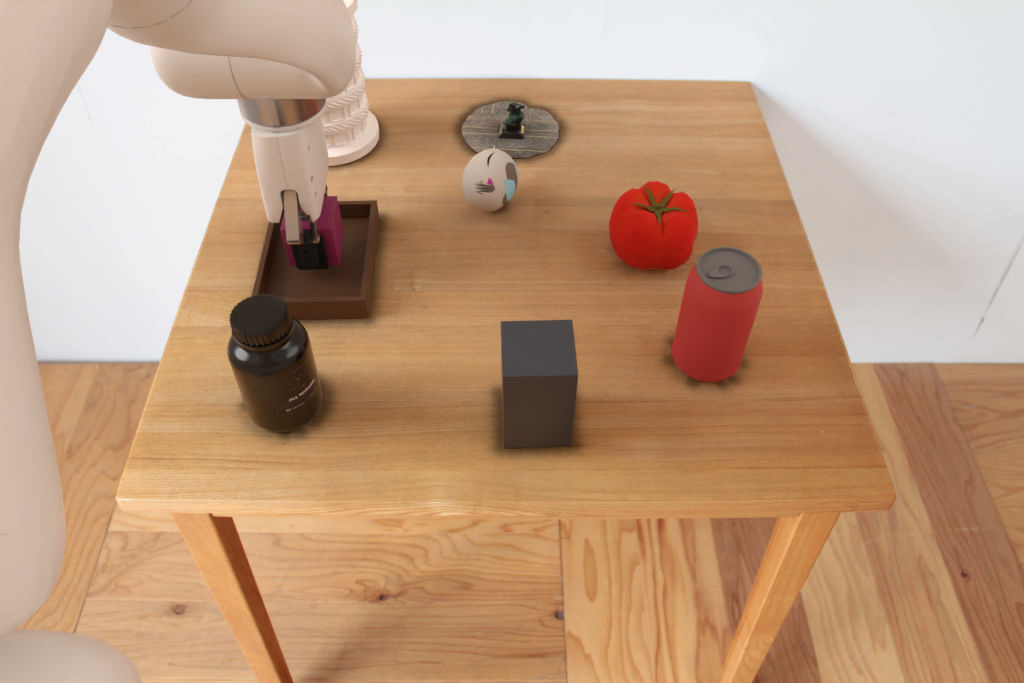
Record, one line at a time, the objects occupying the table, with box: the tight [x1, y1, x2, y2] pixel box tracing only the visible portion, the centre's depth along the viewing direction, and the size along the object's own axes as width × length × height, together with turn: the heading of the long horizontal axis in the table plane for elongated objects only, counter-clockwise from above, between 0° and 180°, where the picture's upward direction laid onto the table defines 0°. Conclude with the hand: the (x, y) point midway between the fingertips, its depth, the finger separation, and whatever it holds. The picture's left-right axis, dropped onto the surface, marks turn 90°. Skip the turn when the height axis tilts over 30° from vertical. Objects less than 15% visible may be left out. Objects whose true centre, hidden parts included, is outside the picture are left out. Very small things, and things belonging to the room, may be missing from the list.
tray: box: [251, 199, 380, 321], centre depth 89 cm, size 15×11×3 cm
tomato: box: [608, 180, 699, 271], centre depth 88 cm, size 9×9×8 cm
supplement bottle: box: [226, 294, 324, 433], centre depth 73 cm, size 7×7×12 cm
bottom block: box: [500, 319, 579, 449], centre depth 73 cm, size 6×6×10 cm
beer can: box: [671, 246, 764, 383], centre depth 77 cm, size 7×7×12 cm
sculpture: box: [461, 100, 560, 159], centre depth 106 cm, size 12×9×8 cm
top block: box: [280, 195, 344, 267], centre depth 86 cm, size 5×5×5 cm
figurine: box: [461, 145, 519, 213], centre depth 94 cm, size 8×6×7 cm
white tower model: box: [321, 0, 380, 167], centre depth 98 cm, size 12×12×18 cm
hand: (316, 246), depth 88 cm, fingers closed on top block, 5 cm apart
